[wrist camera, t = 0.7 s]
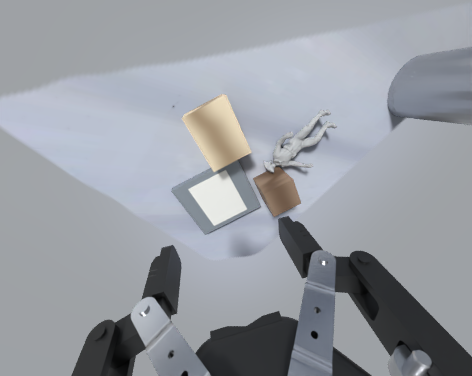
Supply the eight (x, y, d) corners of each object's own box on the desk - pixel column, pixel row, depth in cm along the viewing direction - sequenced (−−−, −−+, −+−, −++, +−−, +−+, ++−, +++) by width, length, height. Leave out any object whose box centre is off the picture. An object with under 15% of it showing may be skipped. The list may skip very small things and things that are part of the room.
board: (235, 155, 31) (237, 157, 29) (258, 203, 36) (261, 207, 35) (172, 188, 31) (171, 192, 30) (204, 230, 36) (205, 235, 35)
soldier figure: (344, 140, 30) (290, 192, 30) (322, 135, 34) (275, 181, 34) (326, 100, 26) (265, 160, 26) (304, 100, 30) (251, 153, 31)
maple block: (220, 94, 26) (226, 94, 22) (243, 143, 30) (251, 152, 26) (184, 114, 27) (181, 118, 22) (211, 160, 30) (213, 172, 26)
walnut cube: (277, 165, 33) (293, 179, 28) (285, 187, 36) (301, 203, 30) (252, 178, 33) (263, 194, 28) (262, 198, 36) (273, 216, 31)
